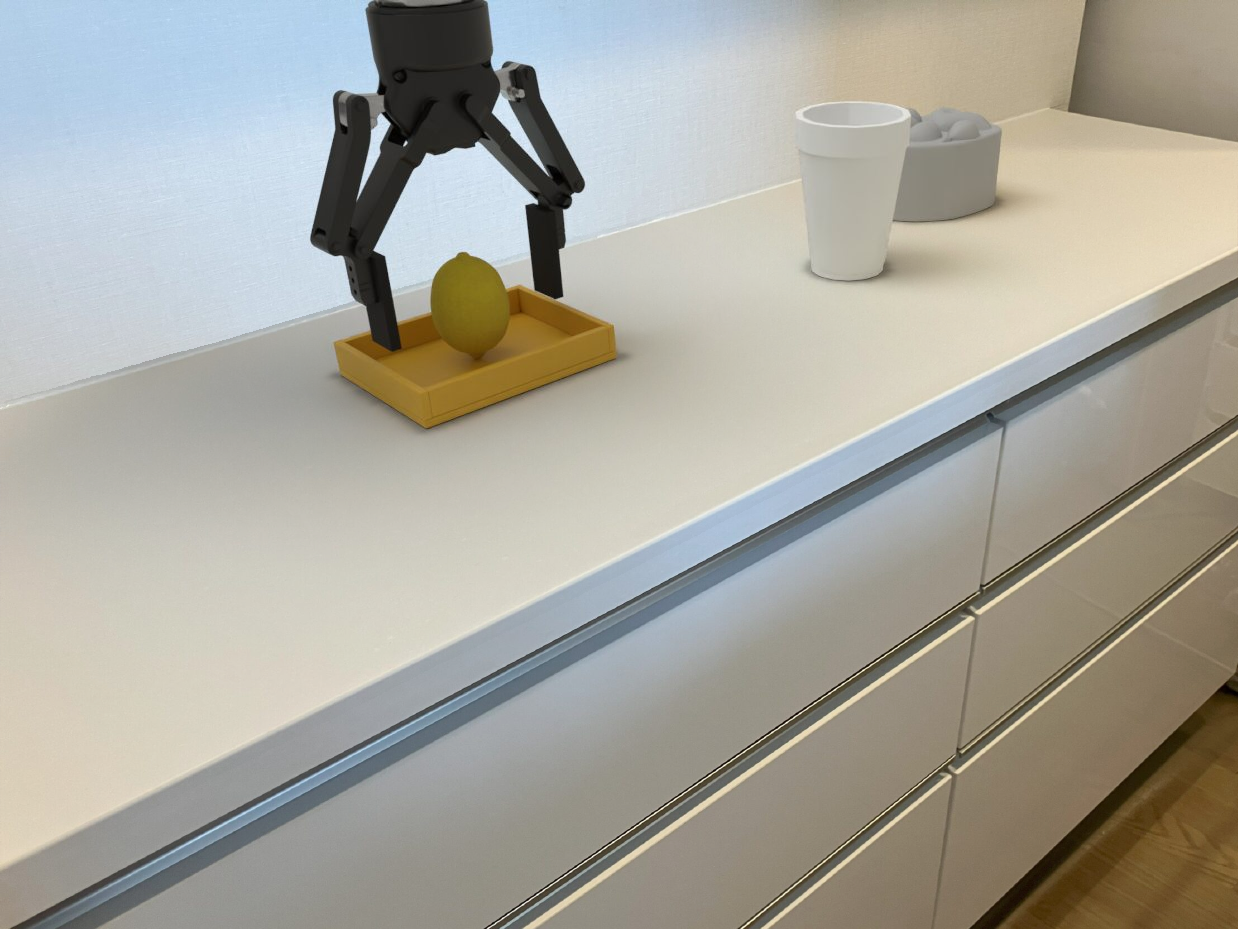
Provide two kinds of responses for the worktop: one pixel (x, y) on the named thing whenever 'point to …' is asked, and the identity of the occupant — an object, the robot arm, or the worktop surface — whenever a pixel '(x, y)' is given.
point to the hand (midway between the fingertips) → (471, 318)
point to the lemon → (469, 305)
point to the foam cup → (850, 183)
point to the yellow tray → (456, 382)
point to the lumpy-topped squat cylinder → (948, 166)
